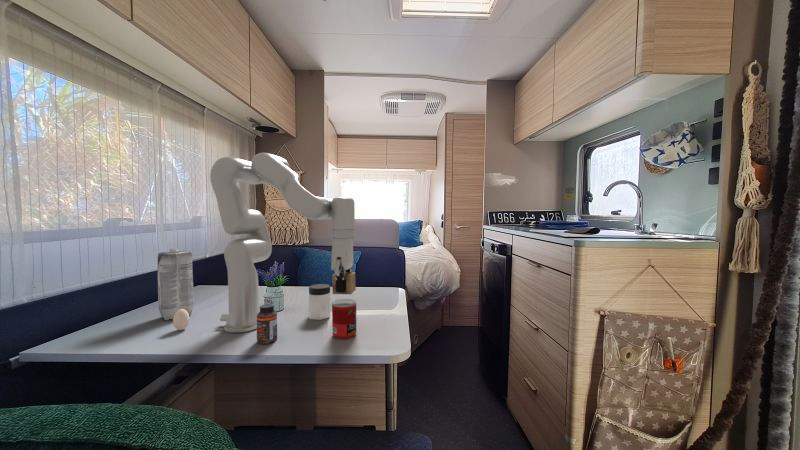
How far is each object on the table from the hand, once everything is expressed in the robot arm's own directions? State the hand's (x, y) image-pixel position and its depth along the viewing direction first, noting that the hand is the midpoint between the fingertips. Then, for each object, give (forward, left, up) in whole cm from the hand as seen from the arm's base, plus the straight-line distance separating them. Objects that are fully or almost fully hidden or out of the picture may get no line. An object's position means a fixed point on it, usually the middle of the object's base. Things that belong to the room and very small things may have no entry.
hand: (344, 289), depth 99 cm
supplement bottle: (-23, -7, -15) cm, 29 cm away
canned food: (0, 0, -15) cm, 15 cm away
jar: (-15, +17, -15) cm, 27 cm away
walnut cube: (0, 0, -1) cm, 1 cm away
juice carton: (-72, +12, -15) cm, 75 cm away
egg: (-58, -1, -15) cm, 60 cm away
